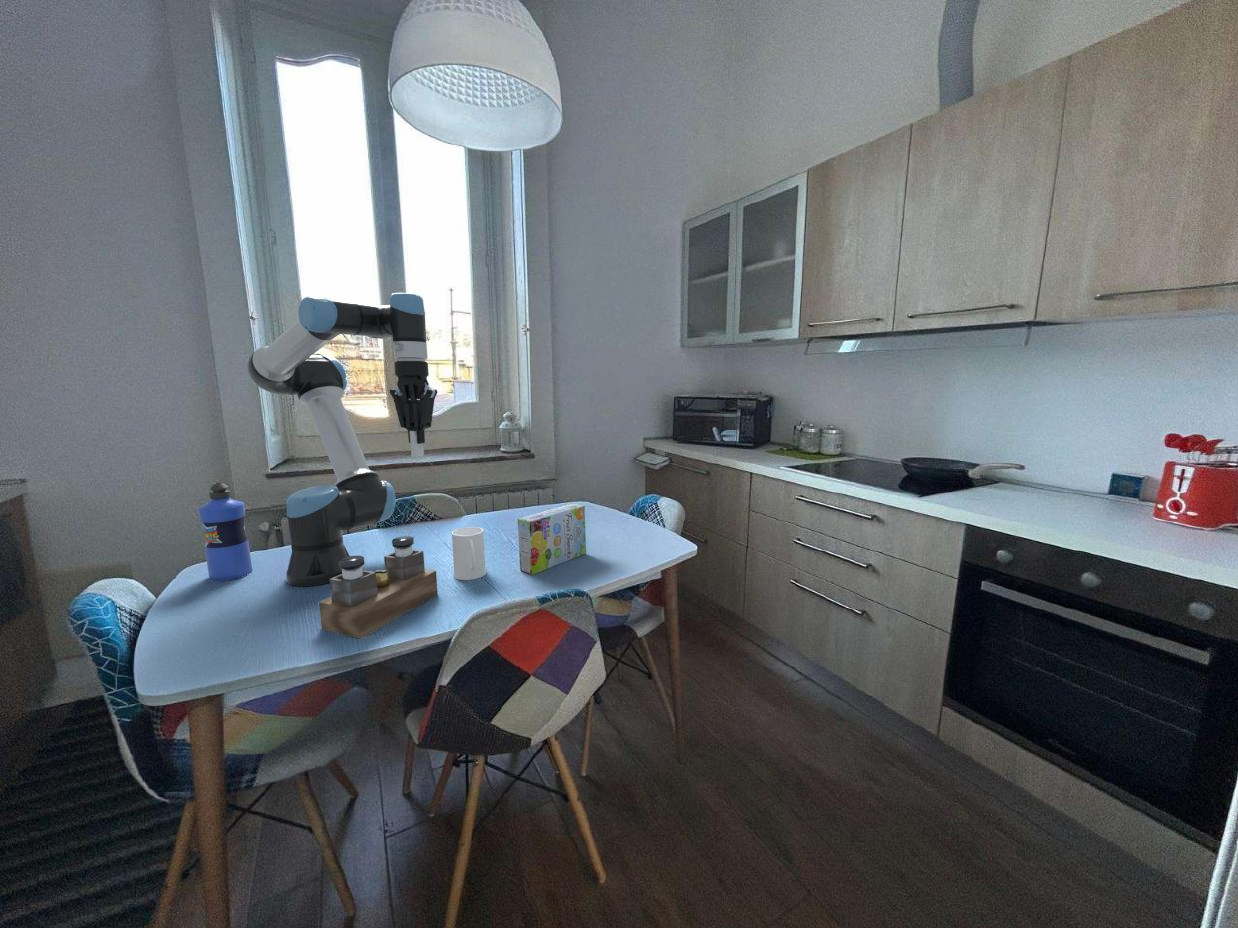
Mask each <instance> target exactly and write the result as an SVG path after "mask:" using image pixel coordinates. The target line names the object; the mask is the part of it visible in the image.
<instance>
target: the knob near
mask: <svg viewBox="0 0 1238 928" xmlns="http://www.w3.org/2000/svg"><path fill="white" fill-rule="evenodd" d="M364 565H365V557H364V556H363V555H349V557H345V558H342V559H340V560H339V568H341V569H342V577H343V580H346V581H351V582H352V581H354V580H357V579H359V578H361V577H363V570H364V568H363V566H364Z"/></svg>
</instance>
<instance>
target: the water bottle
mask: <svg viewBox="0 0 1238 928" xmlns="http://www.w3.org/2000/svg"><path fill="white" fill-rule="evenodd" d="M209 490H210V492H209V493H208V494H209V499H210V501H209V502H207V503H205V504H204V505H201V506H199V507H198V517H199V522H201V525H202V530H203V532H204V535H205V538H204V539H205V540H204V550H205V558H206V565H207V573H208V579H209V581H211V580H212V581H211V582H218V581H219V582H227V581H226V580H228V581H232V579H234V580H237V579H236V578H238V579H240V578H239V577H241V578H243V577H242V576H244V577H246V576H248V575H247V574H249V573H250V574H252V572H253V566H252V559H251V558H252V557H251V551H250V550H251V548H250V543H249V538H248V535H247V531H246V507H245V502H243V501H239V500H235V499H233V498H231V490H229V485H227V484H225V483H224V482H215V483H213V484H212V485H211V486H210V488H209ZM251 571H252V572H251ZM250 574H249V575H250ZM245 575H246V576H245Z"/></svg>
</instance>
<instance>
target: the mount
mask: <svg viewBox="0 0 1238 928" xmlns="http://www.w3.org/2000/svg"><path fill="white" fill-rule="evenodd" d="M424 554H425V553H424V551H423V550H418V549H413V555H411V556H408V557H406V558H399V557H395V551H394V552H391V553H389V554H386V555H383V560H384V562H383V564H384V570H387V571H388V574H389V585H388V586H387V587H383V588H377V580H376V572H375V571H371V570H370V571H369V570H365V569H363V577H361V578H359V579H357V580H354V581H352V582H351V581H346V580H343V577H342V574H340V575H338V576H336V577H333V578H331V579H330V582H329V587H330V596H328V597H326V598H325V599H322V600H320V601H318V609H319V619H320V627H321V630H324V631H327V632H331V633H336V634H341V635H344V636H347V637H348V636H349V637H353V638H357V639H361V640H362V639H364V638H365V637H367V636H369V635H371V634H372V633H374V632H376V631H377V630H379V629H381V628H382V627H384V626H386V625H387V624H389V623H391V622H392V621H395V620H396V619H398V618H400V617H401V616H403V615H405V614H406V613H408V612H410V611H411V610H414V609H415V608H416V607H418V606H420V605H422V604H424V603H426V602H427V601H429V600H430V599H432V598H434V597H436V596H437V595H438V593H439V592H438V579H437V570H433V569H427V568H425V555H424Z"/></svg>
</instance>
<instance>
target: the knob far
mask: <svg viewBox="0 0 1238 928" xmlns="http://www.w3.org/2000/svg"><path fill="white" fill-rule="evenodd" d="M414 538H415V537H414V536H410V535H405V536H399V537H398V536H397V537H395V538H393V539H391V545H392V547H393V548H394V552H395V557H399V558H406V557H408V556H411V555H413V550H414V549H413V545H414V543H415V542H414V541H415V540H414Z"/></svg>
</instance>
